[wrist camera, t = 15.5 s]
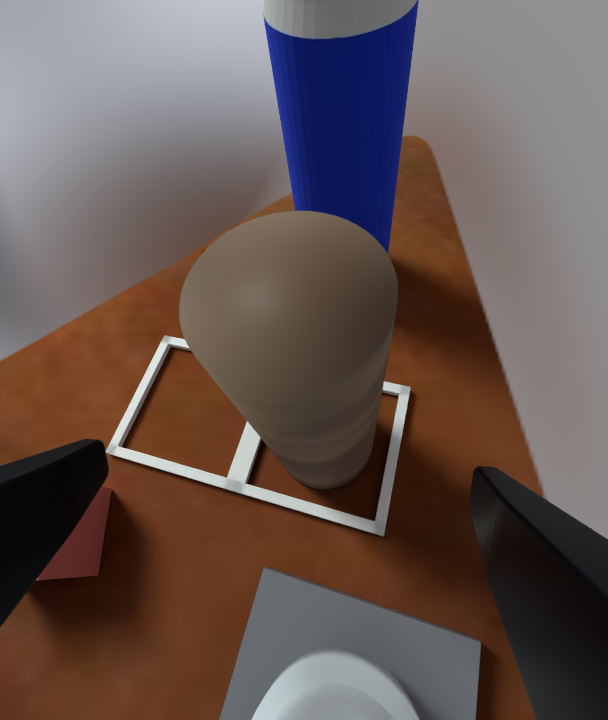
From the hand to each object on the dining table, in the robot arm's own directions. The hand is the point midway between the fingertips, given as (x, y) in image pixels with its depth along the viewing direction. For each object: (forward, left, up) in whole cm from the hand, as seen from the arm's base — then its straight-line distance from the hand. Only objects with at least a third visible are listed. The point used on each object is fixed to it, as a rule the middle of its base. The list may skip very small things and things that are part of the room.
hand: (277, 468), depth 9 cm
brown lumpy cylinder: (+4, 0, -11) cm, 11 cm away
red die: (-4, +12, -11) cm, 17 cm away
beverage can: (+15, +2, -11) cm, 18 cm away
